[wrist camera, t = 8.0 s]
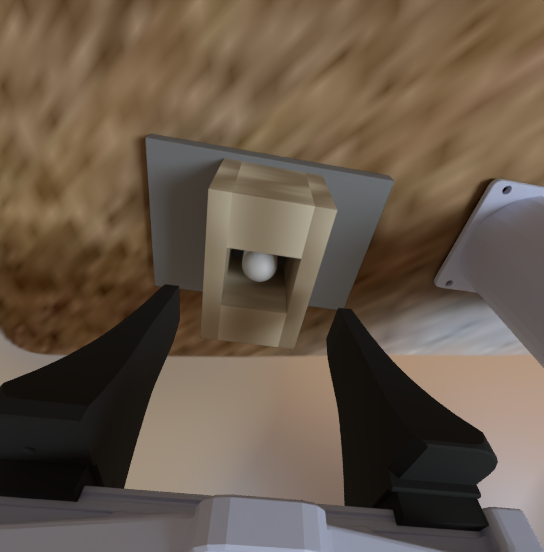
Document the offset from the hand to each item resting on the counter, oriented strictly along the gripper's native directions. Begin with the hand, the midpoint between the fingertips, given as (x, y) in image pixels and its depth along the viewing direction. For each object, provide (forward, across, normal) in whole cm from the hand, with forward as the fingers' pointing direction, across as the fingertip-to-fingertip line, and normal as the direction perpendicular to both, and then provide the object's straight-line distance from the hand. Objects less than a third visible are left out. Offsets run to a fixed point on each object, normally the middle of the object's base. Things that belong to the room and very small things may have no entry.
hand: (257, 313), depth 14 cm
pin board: (+8, 0, 0) cm, 8 cm away
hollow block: (+7, 0, 0) cm, 7 cm away
